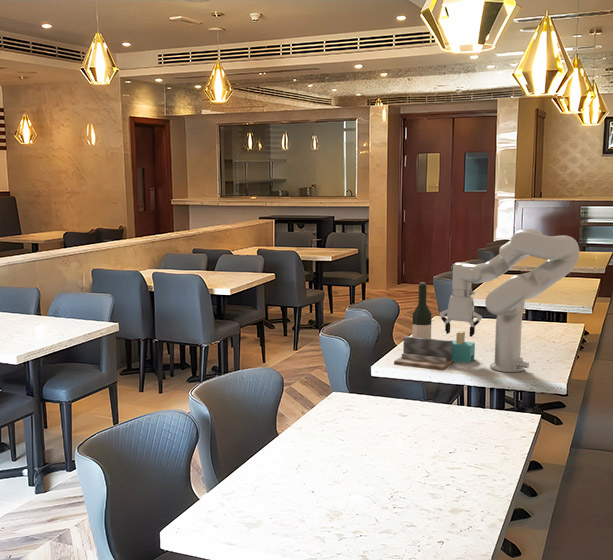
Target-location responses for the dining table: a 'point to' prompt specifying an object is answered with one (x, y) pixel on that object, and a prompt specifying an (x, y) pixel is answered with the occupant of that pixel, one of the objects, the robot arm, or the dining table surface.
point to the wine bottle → (422, 316)
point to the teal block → (462, 349)
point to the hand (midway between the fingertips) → (459, 334)
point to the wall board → (426, 353)
